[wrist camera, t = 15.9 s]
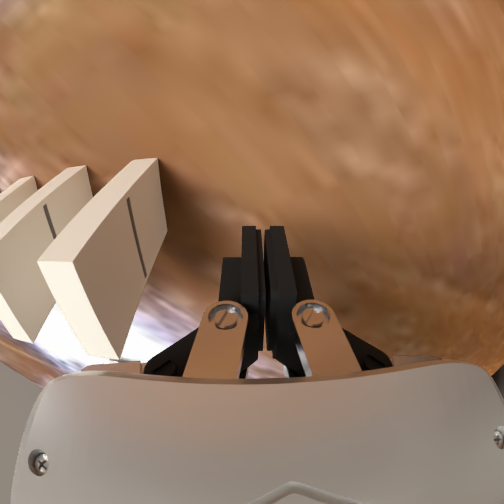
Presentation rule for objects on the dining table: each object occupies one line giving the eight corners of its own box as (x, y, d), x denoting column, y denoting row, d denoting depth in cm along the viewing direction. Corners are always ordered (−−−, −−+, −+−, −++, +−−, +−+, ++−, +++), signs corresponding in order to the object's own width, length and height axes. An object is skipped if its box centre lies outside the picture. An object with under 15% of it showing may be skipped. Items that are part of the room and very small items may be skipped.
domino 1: (157, 157, 16) (72, 262, 7) (167, 230, 18) (120, 359, 10) (132, 160, 16) (36, 261, 7) (144, 231, 18) (87, 355, 10)
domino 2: (86, 165, 15) (-17, 258, 7) (102, 231, 18) (33, 343, 10) (67, 168, 15) (-35, 258, 7) (83, 232, 18) (13, 338, 10)
